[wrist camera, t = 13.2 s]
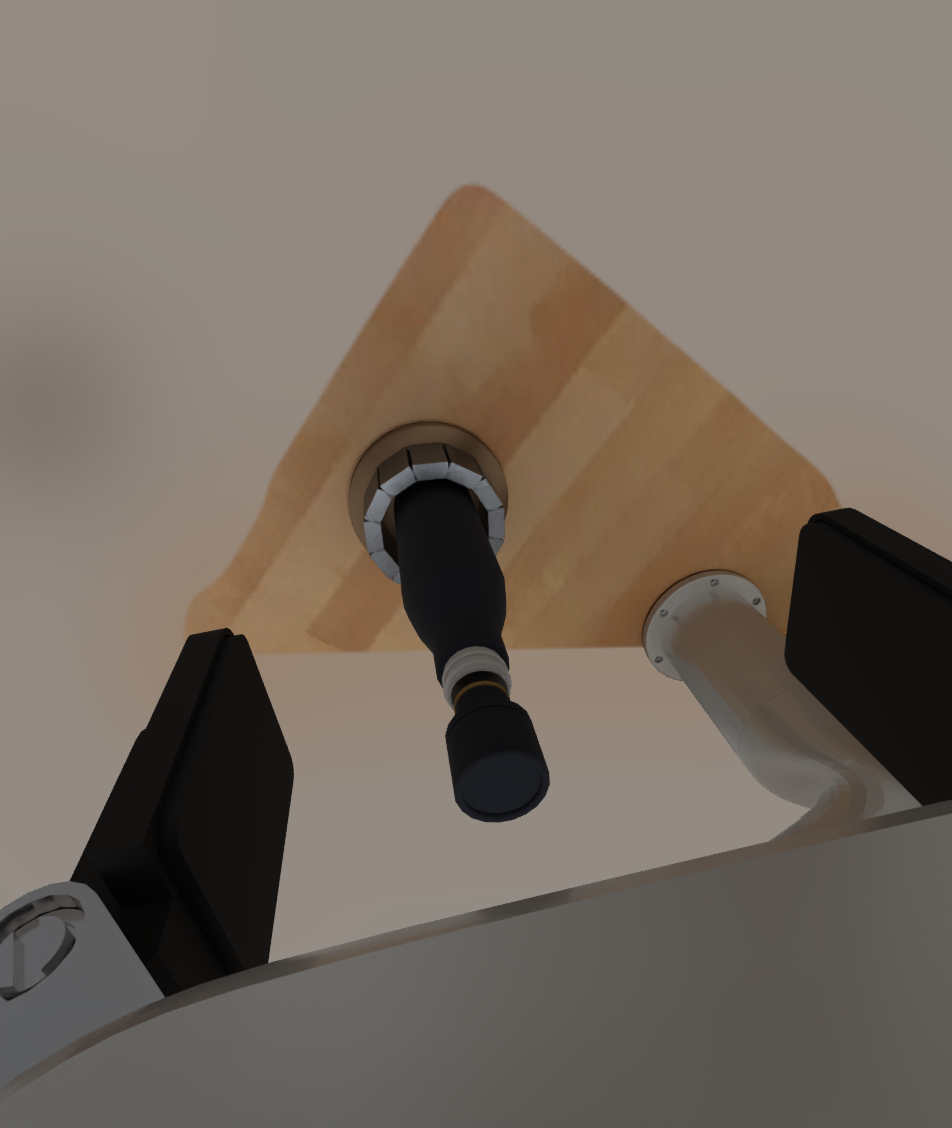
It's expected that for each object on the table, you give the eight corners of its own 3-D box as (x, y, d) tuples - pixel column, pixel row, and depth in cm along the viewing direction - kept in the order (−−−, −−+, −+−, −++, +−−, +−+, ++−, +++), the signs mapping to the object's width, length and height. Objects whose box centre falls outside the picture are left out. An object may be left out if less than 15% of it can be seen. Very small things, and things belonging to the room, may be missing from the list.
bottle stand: (531, 461, 52) (551, 488, 46) (462, 587, 56) (473, 626, 51) (388, 393, 47) (390, 414, 42) (325, 535, 52) (320, 571, 46)
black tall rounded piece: (474, 469, 50) (593, 722, 23) (469, 541, 53) (570, 839, 26) (393, 467, 49) (424, 731, 22) (393, 541, 52) (418, 852, 25)
